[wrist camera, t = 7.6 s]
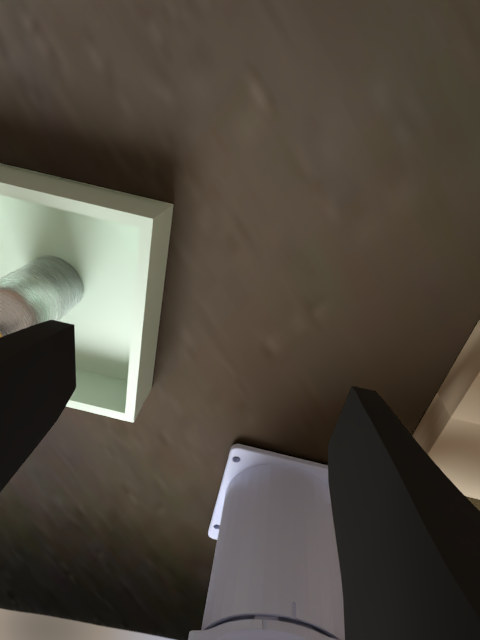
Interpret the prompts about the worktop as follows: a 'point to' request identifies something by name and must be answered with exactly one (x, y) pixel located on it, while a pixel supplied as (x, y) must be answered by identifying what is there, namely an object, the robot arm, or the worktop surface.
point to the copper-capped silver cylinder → (38, 293)
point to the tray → (95, 276)
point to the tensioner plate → (456, 421)
